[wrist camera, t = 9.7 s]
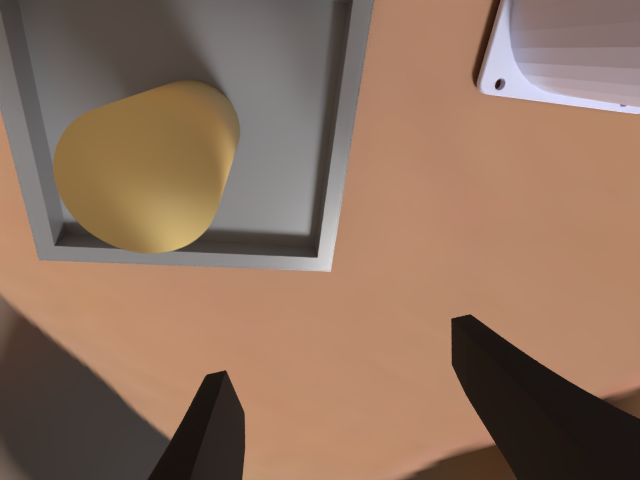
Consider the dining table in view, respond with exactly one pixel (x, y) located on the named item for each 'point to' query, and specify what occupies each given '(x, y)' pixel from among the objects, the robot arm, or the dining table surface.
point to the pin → (149, 166)
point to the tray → (216, 70)
